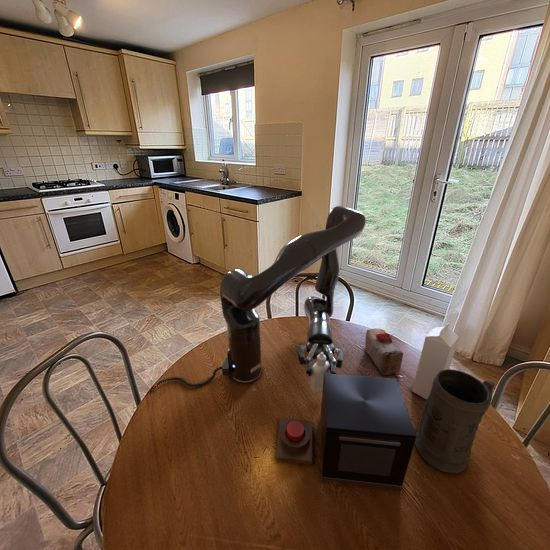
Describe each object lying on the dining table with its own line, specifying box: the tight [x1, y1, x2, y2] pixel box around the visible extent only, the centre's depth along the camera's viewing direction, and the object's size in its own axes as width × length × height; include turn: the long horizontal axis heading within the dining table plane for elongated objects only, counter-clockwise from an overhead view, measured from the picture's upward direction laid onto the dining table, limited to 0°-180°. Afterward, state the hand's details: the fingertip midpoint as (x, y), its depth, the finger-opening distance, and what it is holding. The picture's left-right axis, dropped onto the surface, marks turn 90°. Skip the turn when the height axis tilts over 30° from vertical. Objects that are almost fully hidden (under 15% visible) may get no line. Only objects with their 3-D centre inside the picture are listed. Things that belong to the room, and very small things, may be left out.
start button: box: [287, 421, 304, 442], centre depth 67 cm, size 4×4×2 cm
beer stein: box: [414, 369, 496, 474], centre depth 63 cm, size 15×11×20 cm
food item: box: [364, 328, 404, 376], centre depth 92 cm, size 14×8×10 cm, turn 9°
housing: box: [275, 417, 313, 465], centre depth 68 cm, size 8×10×3 cm
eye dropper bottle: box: [309, 352, 330, 394], centre depth 78 cm, size 4×6×12 cm
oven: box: [319, 373, 417, 490], centre depth 63 cm, size 16×14×16 cm
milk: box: [411, 321, 460, 401], centre depth 77 cm, size 6×6×22 cm
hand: (321, 374), depth 75 cm, fingers closed on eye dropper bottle, 5 cm apart
